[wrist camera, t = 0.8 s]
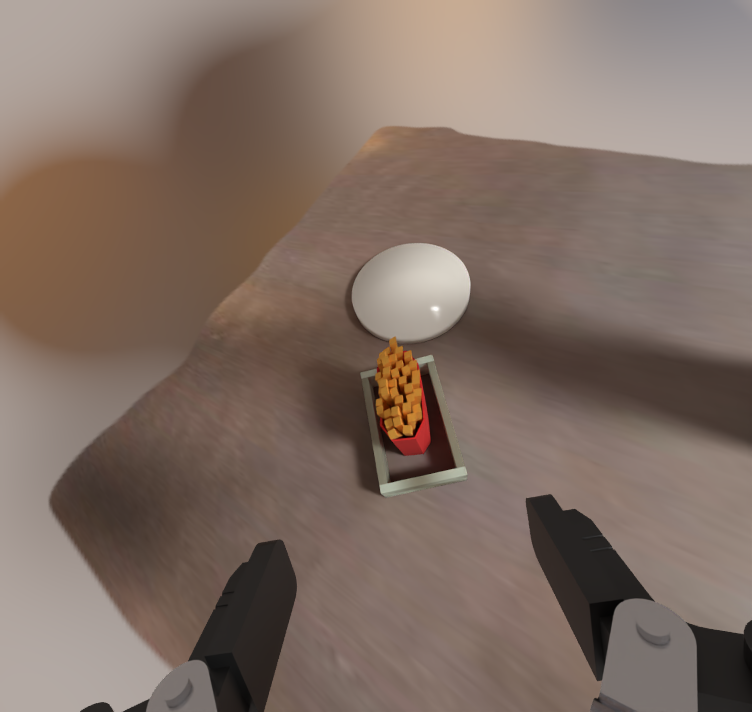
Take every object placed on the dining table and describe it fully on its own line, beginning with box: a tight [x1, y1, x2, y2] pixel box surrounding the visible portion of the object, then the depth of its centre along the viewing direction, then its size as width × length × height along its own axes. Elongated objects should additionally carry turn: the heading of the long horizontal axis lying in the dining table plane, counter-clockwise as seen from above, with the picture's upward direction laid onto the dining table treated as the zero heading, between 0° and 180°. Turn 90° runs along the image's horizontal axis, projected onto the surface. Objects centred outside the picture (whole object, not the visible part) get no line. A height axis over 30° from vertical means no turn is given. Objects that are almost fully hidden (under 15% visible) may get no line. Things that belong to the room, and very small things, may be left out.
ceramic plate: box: [352, 243, 470, 344], centre depth 49 cm, size 16×16×2 cm
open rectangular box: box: [360, 355, 467, 498], centre depth 40 cm, size 9×14×3 cm, turn 10°
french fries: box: [375, 336, 431, 456], centre depth 35 cm, size 9×4×13 cm, turn 3°
